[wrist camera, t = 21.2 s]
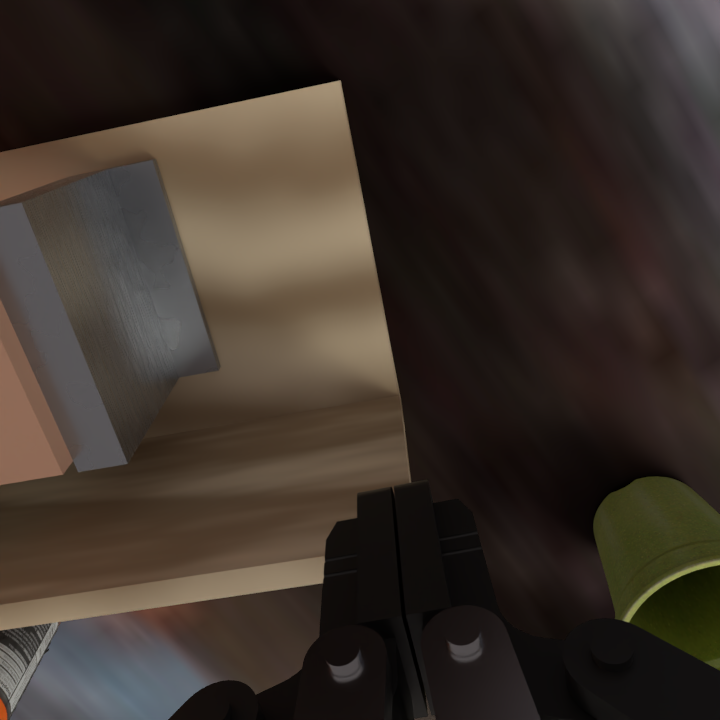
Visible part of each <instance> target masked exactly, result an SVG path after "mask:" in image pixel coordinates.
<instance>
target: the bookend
mask: <svg viewBox="0 0 720 720" xmlns="http://www.w3.org/2000/svg"><path fill="white" fill-rule="evenodd" d="M0 299H1V301H2V304H3V306H4V308H5V310H6V313H7V315H8V317H9V319H10V322H11V324H12V326H13V328H14V330H15V333H16V335H17V337H18V339H19V342H20V344H21V346H22V348H23V351H24V353H25V355H26V357H27V359H28V362H29V364H30V366H31V368H32V371H33V373H34V375H35V377H36V379H37V382H38V384H39V386H40V388H41V391H42V393H43V395H44V397H45V400H46V402H47V404H48V406H49V408H50V411H51V413H52V415H53V417H54V420H55V422H56V424H57V426H58V428H59V431H60V433H61V435H62V437H63V440H64V442H65V444H66V446H67V449H68V451H69V453H70V455H71V457H72V460H73V462H74V464H75V466H76V469H77V471H78V472H83V471H89V470H95V469H101V468H107V467H113V466H119V465H125V464H128V463H129V461H130V460H131V458H132V456H133V454H134V453H135V451H136V449H137V448H138V446H139V444H140V443H141V441H142V439H143V438H144V436H145V434H146V433H147V431H148V429H149V428H150V426H151V424H152V423H153V421H154V419H155V417H156V416H157V414H158V412H159V411H160V409H161V407H162V406H163V404H164V402H165V401H166V399H167V397H168V396H169V394H170V392H171V391H172V389H173V387H174V386H175V384H176V382H177V380H178V379H179V378H180V377H185V376H191V375H196V374H202V373H208V372H213V371H219V369H220V367H221V365H220V362H219V359H218V356H217V352H216V349H215V346H214V343H213V340H212V336H211V333H210V330H209V327H208V324H207V320H206V317H205V314H204V311H203V308H202V304H201V301H200V298H199V295H198V292H197V288H196V285H195V282H194V279H193V276H192V272H191V269H190V266H189V263H188V260H187V256H186V253H185V250H184V247H183V244H182V240H181V237H180V234H179V231H178V228H177V224H176V221H175V218H174V215H173V212H172V208H171V205H170V202H169V199H168V196H167V192H166V189H165V186H164V183H163V180H162V177H161V173H160V170H159V167H158V164H157V161H156V159H151V160H147V161H142V162H137V163H132V164H127V165H122V166H117V167H113V168H108V169H103V170H98V171H93V172H88V173H84V174H79V175H74V176H69V177H66V178H63V179H60V180H57V181H55V182H52V183H49V184H46V185H44V186H41V187H38V188H35V189H32V190H30V191H27V192H24V193H21V194H19V195H16V196H13V197H10V198H7V199H5V200H2V201H0Z"/></svg>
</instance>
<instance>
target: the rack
mask: <svg viewBox="0 0 720 720" xmlns="http://www.w3.org/2000/svg"><path fill="white" fill-rule="evenodd" d="M151 159H156V161H157V164H158V167H159V170H160V173H161V177H162V180H163V183H164V186H165V189H166V192H167V196H168V199H169V202H170V205H171V208H172V212H173V215H174V218H175V221H176V224H177V228H178V231H179V234H180V237H181V240H182V244H183V247H184V250H185V253H186V256H187V260H188V263H189V266H190V269H191V272H192V276H193V279H194V282H195V285H196V288H197V292H198V295H199V298H200V301H201V304H202V308H203V311H204V314H205V317H206V320H207V324H208V327H209V330H210V333H211V336H212V340H213V343H214V346H215V349H216V352H217V356H218V359H219V362H220V365H221V367H220V369H219V371H213V372H208V373H202V374H196V375H191V376H185V377H180V378H179V379H178V380H177V382H176V384H175V386H174V387H173V389H172V391H171V392H170V394H169V396H168V397H167V399H166V401H165V402H164V404H163V406H162V407H161V409H160V411H159V412H158V414H157V416H156V417H155V419H154V421H153V423H152V424H151V426H150V428H149V429H148V431H147V433H146V434H145V436H144V438H143V439H142V441H141V443H140V444H139V446H138V448H137V449H136V451H135V453H134V454H133V456H132V458H131V460H130V461H129V463H128V464H125V465H119V466H113V467H107V468H101V469H95V470H89V471H83V472H78V471H77V469H76V466H75V464H74V462H72V463H71V465H70V466H69V467H68V469H67V470H66V471H65V473H64V474H63V475H58V476H52V477H46V478H40V479H34V480H28V481H22V482H16V483H10V484H4V485H0V631H1V630H7V629H14V628H21V627H28V626H35V625H41V624H48V623H55V622H62V621H69V620H75V619H82V618H89V617H96V616H103V615H109V614H116V613H123V612H130V611H137V610H143V609H150V608H157V607H164V606H171V605H177V604H184V603H191V602H198V601H205V600H211V599H218V598H225V597H232V596H239V595H245V594H252V593H259V592H266V591H273V590H279V589H286V588H293V587H300V586H306V585H313V584H320V583H323V578H324V563H325V546H326V539H327V537H328V536H329V534H330V532H331V531H332V529H333V527H334V525H335V524H336V522H337V521H343V520H348V519H353V518H357V493H359V492H365V491H370V490H375V489H380V488H385V487H392V489H393V493H394V486H395V485H400V484H406V483H411V476H410V468H409V460H408V451H407V443H406V435H405V426H404V418H403V410H402V403H401V397H400V392H399V387H398V381H397V376H396V371H395V365H394V360H393V355H392V350H391V344H390V339H389V334H388V328H387V323H386V318H385V312H384V307H383V302H382V296H381V291H380V286H379V281H378V275H377V270H376V265H375V259H374V254H373V249H372V243H371V238H370V233H369V228H368V222H367V217H366V212H365V206H364V201H363V196H362V190H361V185H360V180H359V175H358V169H357V164H356V159H355V153H354V148H353V143H352V137H351V132H350V127H349V122H348V116H347V111H346V106H345V100H344V95H343V90H342V84H341V80H339V81H335V82H330V83H325V84H320V85H316V86H311V87H306V88H302V89H297V90H292V91H287V92H283V93H278V94H273V95H268V96H264V97H259V98H254V99H250V100H245V101H240V102H235V103H231V104H226V105H221V106H217V107H212V108H207V109H202V110H198V111H193V112H188V113H183V114H179V115H174V116H169V117H165V118H160V119H155V120H150V121H146V122H141V123H136V124H132V125H127V126H122V127H117V128H113V129H108V130H103V131H99V132H94V133H89V134H84V135H80V136H75V137H70V138H65V139H61V140H56V141H51V142H47V143H42V144H37V145H32V146H28V147H23V148H18V149H14V150H9V151H4V152H0V201H2V200H5V199H7V198H10V197H13V196H16V195H19V194H21V193H24V192H27V191H30V190H32V189H35V188H38V187H41V186H44V185H46V184H49V183H52V182H55V181H57V180H60V179H63V178H66V177H69V176H74V175H79V174H84V173H88V172H93V171H98V170H103V169H108V168H113V167H117V166H122V165H127V164H132V163H137V162H142V161H147V160H151ZM394 496H395V495H394Z"/></svg>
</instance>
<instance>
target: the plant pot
mask: <svg viewBox="0 0 720 720" xmlns="http://www.w3.org/2000/svg"><path fill="white" fill-rule="evenodd" d="M593 531H594V536H595V540H596V544H597V548H598V551H599V555H600V558H601V561H602V565H603V568H604V572H605V575H606V579H607V583H608V586H609V590H610V594H611V598H612V601H613V605H614V609H615V619H617V620H622V621H626V622H629V623H631V624H634V625H636V626H638V627H640V628H642V629H644V630H645V631H647V632H649V633H651V634H653V635H655V636H657V637H658V638H660V639H662V640H664V641H666V642H668V643H670V644H671V645H673V646H675V647H677V648H679V649H681V650H683V651H684V652H686V653H688V654H690V655H692V656H694V657H696V658H697V659H699V660H701V661H703V662H705V663H707V664H709V665H710V666H712V667H714V668H716V669H718V670H720V514H719V513H718V512H716V511H715V510H714V509H713V508H712V507H711V506H710V505H709V504H708V503H707V502H706V501H704V500H703V499H702V498H701V497H700V496H699V495H698V494H697V493H696V492H695V491H693V490H692V489H691V488H690V487H689V486H687V485H686V484H684V483H682V482H680V481H678V480H675V479H672V478H668V477H659V476H655V477H644V478H640V479H636V480H634V481H633V482H632V483H630V484H629V485H627V486H626V487H624V488H622V489H620V490H618V491H615V492H612V493H610V494H609V495H608V496H607V497H606V498H605V499H604V500H603V502H602V503H601V504H600V506H599V507H598V509H597V511H596V514H595V517H594V522H593Z"/></svg>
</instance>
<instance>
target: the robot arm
mask: <svg viewBox="0 0 720 720" xmlns="http://www.w3.org/2000/svg"><path fill="white" fill-rule="evenodd" d="M394 495H395V496H394ZM425 692H426V695H427V699H428V703H429V707H430V711H431V715H435V717H436V720H720V670H718V669H716V668H714V667H712V666H710V665H709V664H707V663H705V662H703V661H701V660H699V659H697V658H696V657H694V656H692V655H690V654H688V653H686V652H684V651H683V650H681V649H679V648H677V647H675V646H673V645H671V644H670V643H668V642H666V641H664V640H662V639H660V638H658V637H657V636H655V635H653V634H651V633H649V632H647V631H645V630H644V629H642V628H640V627H638V626H636V625H634V624H631V623H629V622H626V621H622V620H617V619H606V618H605V619H595V620H591V621H588V622H585V623H582V624H581V625H579V626H577V627H576V628H575V629H573V630H572V631H571V632H570V633H569V635H568V636H567V638H566V640H557V639H548V638H541V637H536V636H532V635H529V634H526V633H524V632H522V631H520V630H518V629H517V628H515V627H513V626H512V625H511V624H510V623H509V622H507V620H506V619H505V618H504V617H503V616H502V614H501V612H500V611H499V608H498V605H497V602H496V598H495V594H494V591H493V587H492V583H491V580H490V576H489V572H488V569H487V565H486V561H485V558H484V554H483V550H482V547H481V543H480V539H479V536H478V532H477V528H476V525H475V521H474V517H473V514H472V512H471V511H470V510H469V509H468V508H467V507H466V506H465V505H464V504H463V503H462V502H461V501H460V500H459V499H454V500H448V501H443V502H438V503H433V501H432V496H431V491H430V487H429V482H428V479H427V480H421V481H416V482H411V483H406V484H400V485H395V486H394V493H393V489H392V487H385V488H380V489H375V490H370V491H365V492H359V493H357V518H353V519H348V520H343V521H337V522H336V524H335V525H334V527H333V529H332V531H331V532H330V534H329V536H328V537H327V539H326V546H325V563H324V578H323V590H322V605H321V619H320V634H319V638H318V639H317V640H316V641H315V642H314V643H313V644H312V645H311V647H310V648H309V650H308V651H307V654H306V656H305V658H304V662H303V667H302V669H301V670H300V671H299V672H298V673H297V674H295V675H294V676H292V677H291V678H289V679H288V680H286V681H284V682H282V683H280V684H278V685H276V686H274V687H272V688H269V689H267V690H265V691H263V692H261V693H259V694H257V695H255V693H254V691H253V690H252V689H251V688H250V687H249V686H248V685H246V684H244V683H242V682H239V681H232V680H227V681H220V682H217V683H213V684H211V685H209V686H206V687H205V688H203V689H201V690H199V691H198V692H197V693H195V694H194V695H193V696H192V697H190V698H189V699H188V700H187V701H186V702H185V703H184V704H183V705H182V706H181V707H180V708H179V709H178V710H177V711H176V712H175V713H174V714H173V715H172V716H171V717H170V718H169V719H168V720H414V718H420V717H427V716H428V713H427V704H426V695H425Z"/></svg>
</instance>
